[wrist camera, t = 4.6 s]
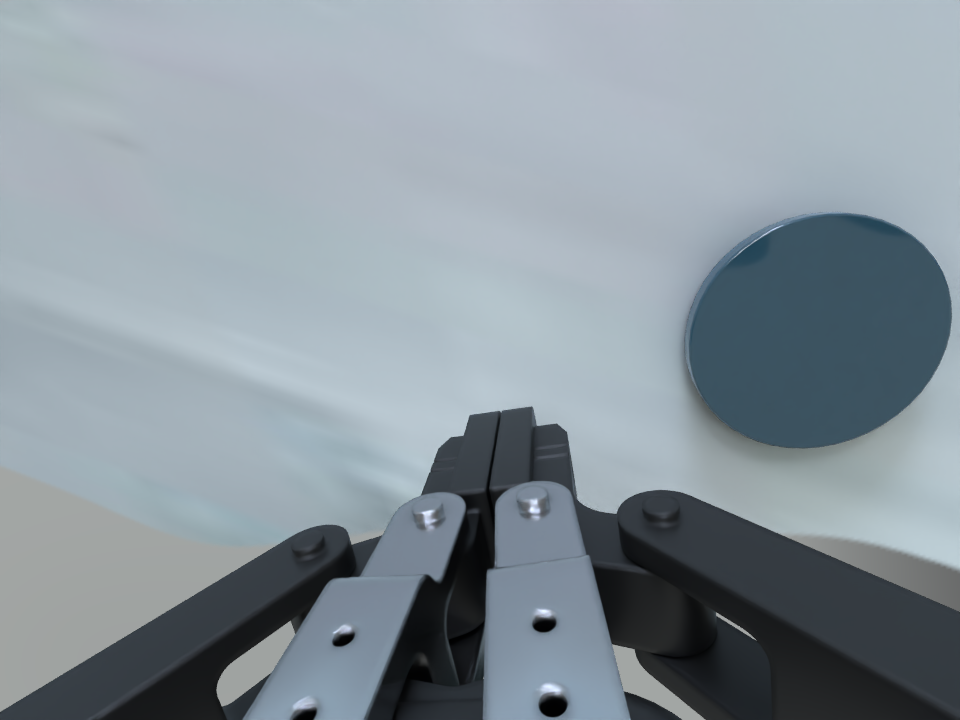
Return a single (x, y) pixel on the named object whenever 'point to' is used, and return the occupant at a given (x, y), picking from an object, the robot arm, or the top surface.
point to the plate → (818, 329)
